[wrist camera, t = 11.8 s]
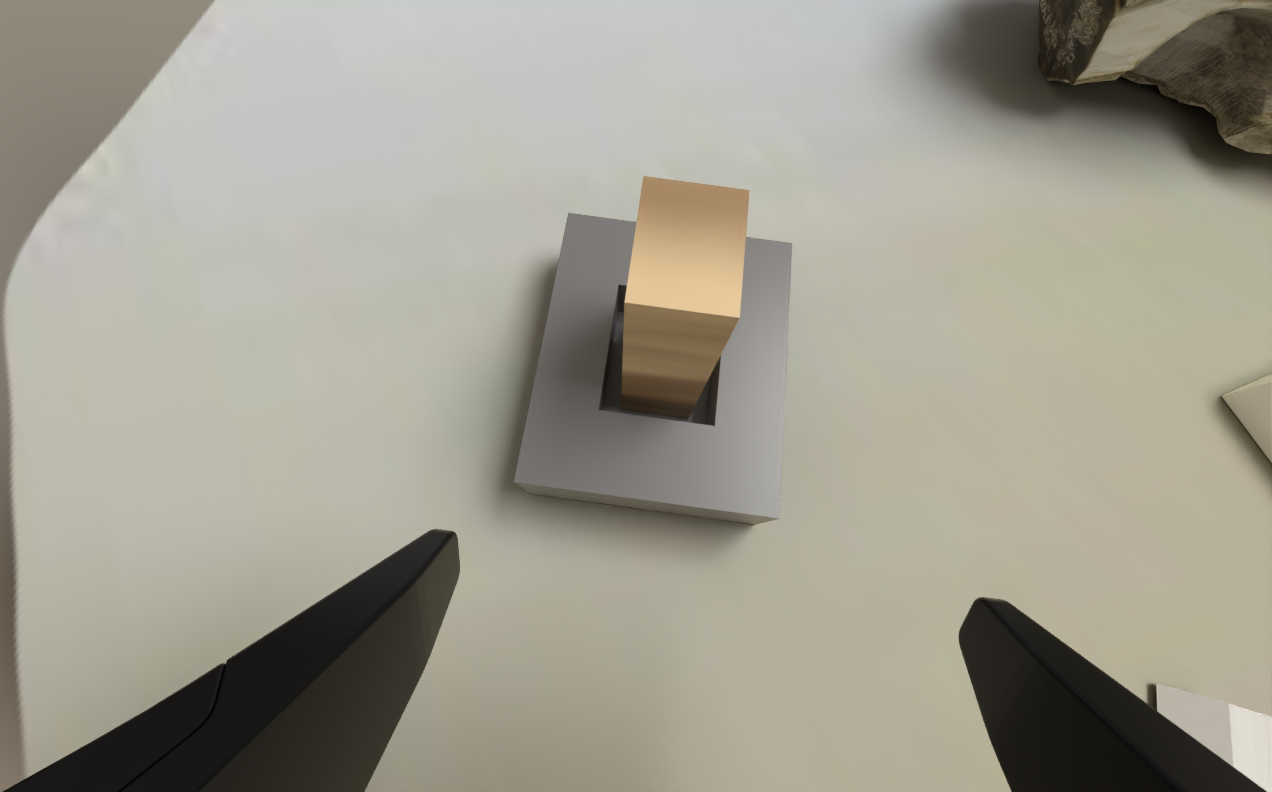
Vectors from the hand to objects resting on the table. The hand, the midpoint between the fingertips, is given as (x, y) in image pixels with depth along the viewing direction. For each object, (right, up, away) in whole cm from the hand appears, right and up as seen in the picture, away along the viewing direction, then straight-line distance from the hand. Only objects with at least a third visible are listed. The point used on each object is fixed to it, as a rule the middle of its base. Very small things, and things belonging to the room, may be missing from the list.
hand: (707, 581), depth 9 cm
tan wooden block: (0, +4, +14) cm, 15 cm away
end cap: (0, +4, +15) cm, 16 cm away
